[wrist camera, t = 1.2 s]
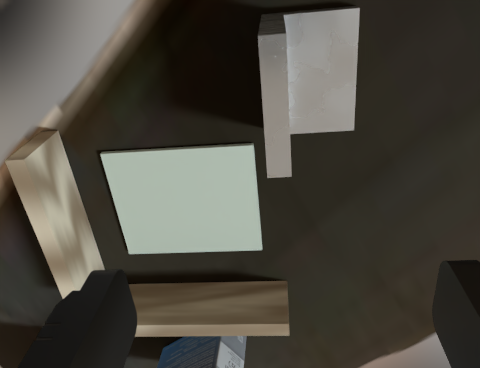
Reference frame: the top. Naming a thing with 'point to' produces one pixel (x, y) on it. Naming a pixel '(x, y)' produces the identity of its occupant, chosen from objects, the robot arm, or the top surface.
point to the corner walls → (144, 295)
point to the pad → (186, 198)
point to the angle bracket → (306, 77)
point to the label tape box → (204, 352)
